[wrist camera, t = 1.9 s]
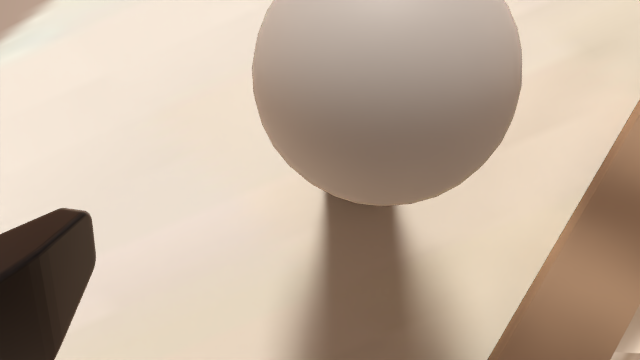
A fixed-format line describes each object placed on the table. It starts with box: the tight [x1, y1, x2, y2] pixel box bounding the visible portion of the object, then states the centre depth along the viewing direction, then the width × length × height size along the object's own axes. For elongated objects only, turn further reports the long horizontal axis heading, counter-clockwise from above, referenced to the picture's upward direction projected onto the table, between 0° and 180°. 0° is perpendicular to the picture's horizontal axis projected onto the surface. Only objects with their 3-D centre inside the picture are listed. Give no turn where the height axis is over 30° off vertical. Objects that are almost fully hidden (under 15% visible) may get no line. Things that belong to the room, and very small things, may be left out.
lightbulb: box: [252, 0, 522, 206], centre depth 16 cm, size 6×6×11 cm
